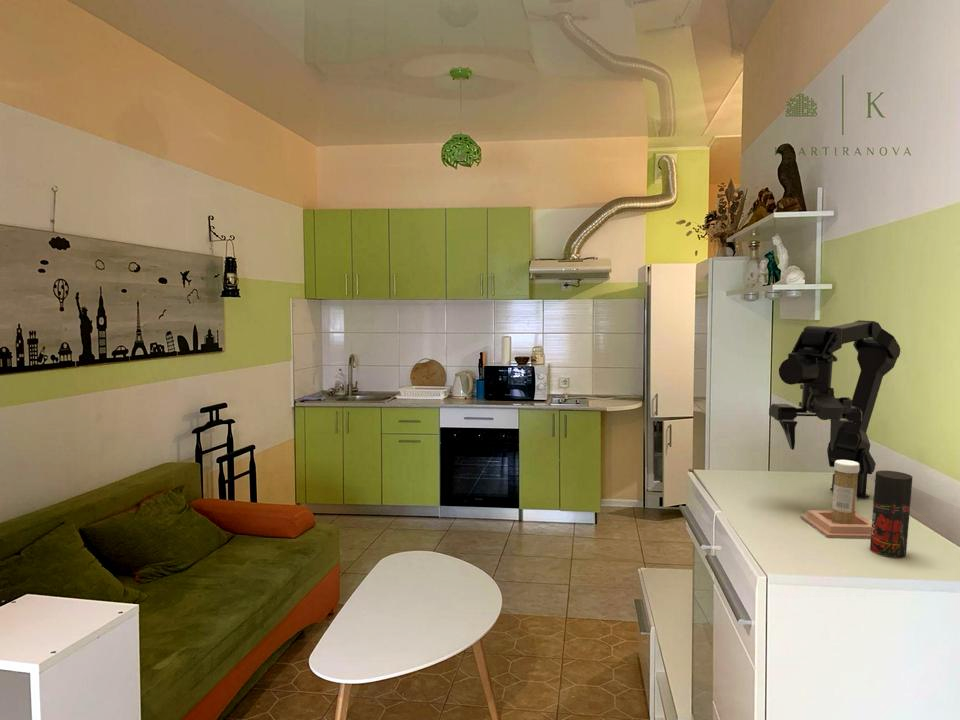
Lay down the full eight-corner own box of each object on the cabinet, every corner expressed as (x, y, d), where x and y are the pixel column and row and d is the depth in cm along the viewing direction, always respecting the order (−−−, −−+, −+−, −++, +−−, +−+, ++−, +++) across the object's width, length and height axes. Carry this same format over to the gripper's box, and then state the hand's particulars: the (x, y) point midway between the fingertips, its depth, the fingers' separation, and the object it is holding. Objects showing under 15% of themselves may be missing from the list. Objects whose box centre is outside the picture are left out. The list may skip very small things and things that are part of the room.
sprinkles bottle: (859, 526, 143) (864, 462, 141) (847, 530, 140) (852, 465, 139) (837, 519, 147) (842, 457, 145) (825, 523, 144) (830, 460, 143)
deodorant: (862, 546, 133) (868, 470, 131) (892, 545, 134) (898, 470, 132) (883, 558, 127) (889, 479, 126) (913, 557, 128) (920, 479, 126)
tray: (855, 518, 149) (856, 509, 149) (887, 538, 137) (888, 529, 137) (800, 517, 149) (800, 508, 149) (827, 537, 137) (828, 528, 137)
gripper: (791, 386, 147) (786, 457, 149) (878, 387, 147) (873, 459, 149) (769, 379, 158) (765, 445, 160) (851, 380, 158) (846, 447, 160)
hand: (812, 449), depth 157 cm, fingers open, 9 cm apart
